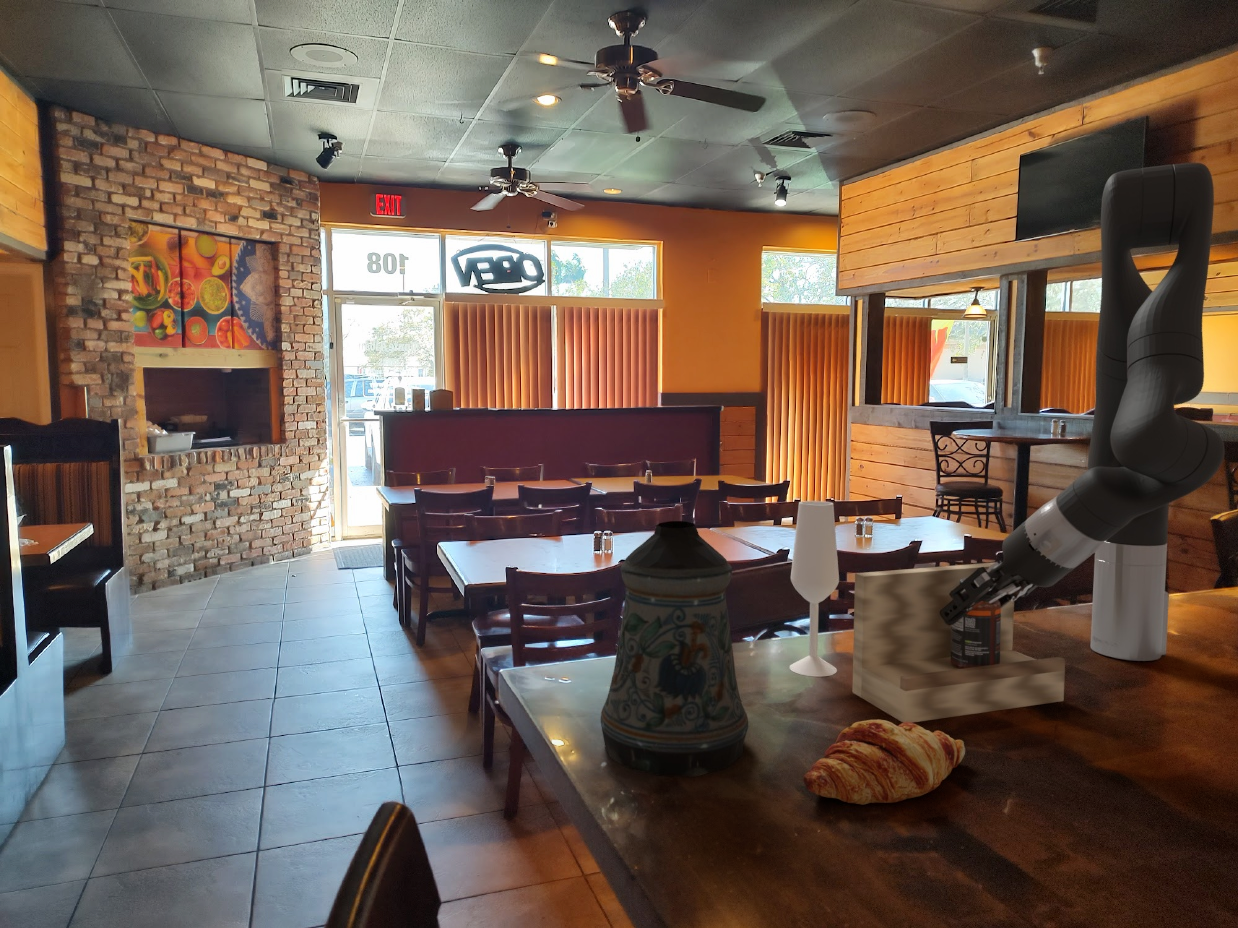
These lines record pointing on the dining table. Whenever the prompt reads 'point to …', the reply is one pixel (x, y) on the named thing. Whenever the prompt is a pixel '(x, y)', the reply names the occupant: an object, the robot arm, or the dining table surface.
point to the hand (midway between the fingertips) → (964, 614)
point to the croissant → (884, 763)
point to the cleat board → (936, 651)
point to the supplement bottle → (977, 636)
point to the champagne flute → (814, 573)
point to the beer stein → (675, 661)
